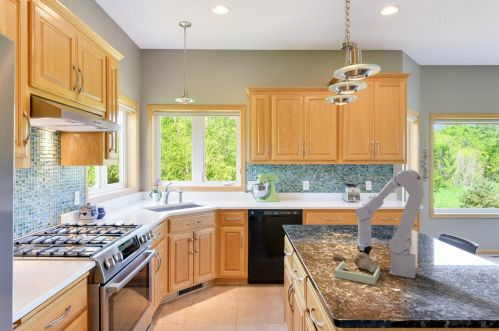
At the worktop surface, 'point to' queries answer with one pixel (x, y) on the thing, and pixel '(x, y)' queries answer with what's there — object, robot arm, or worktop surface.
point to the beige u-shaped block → (356, 275)
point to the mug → (365, 262)
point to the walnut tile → (338, 257)
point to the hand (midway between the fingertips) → (364, 262)
